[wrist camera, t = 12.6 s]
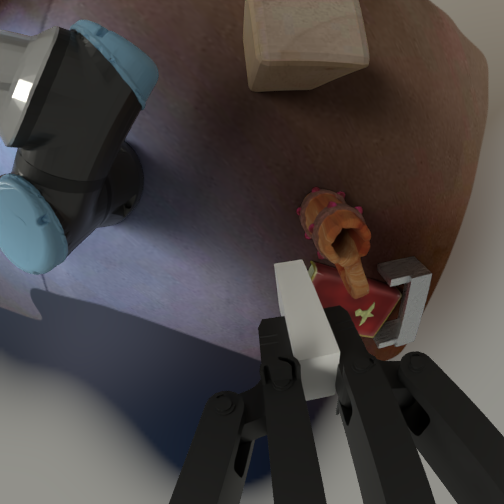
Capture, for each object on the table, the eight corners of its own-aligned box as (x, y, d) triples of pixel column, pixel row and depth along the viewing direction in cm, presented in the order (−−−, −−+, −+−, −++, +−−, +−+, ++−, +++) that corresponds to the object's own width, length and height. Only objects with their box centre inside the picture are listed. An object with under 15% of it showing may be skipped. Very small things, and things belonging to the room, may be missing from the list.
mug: (286, 191, 42) (309, 225, 29) (333, 174, 41) (375, 200, 28) (312, 266, 48) (337, 320, 35) (353, 249, 47) (390, 297, 34)
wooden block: (315, 90, 35) (375, 68, 17) (248, 93, 35) (257, 64, 17) (307, 34, 30) (357, -21, 13) (242, 35, 31) (245, -29, 13)
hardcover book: (310, 258, 48) (316, 270, 44) (394, 284, 52) (403, 295, 48) (285, 309, 53) (288, 323, 49) (367, 326, 57) (373, 338, 53)
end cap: (369, 330, 57) (379, 351, 51) (377, 263, 49) (393, 282, 43) (401, 321, 57) (414, 341, 50) (414, 256, 49) (432, 273, 42)
